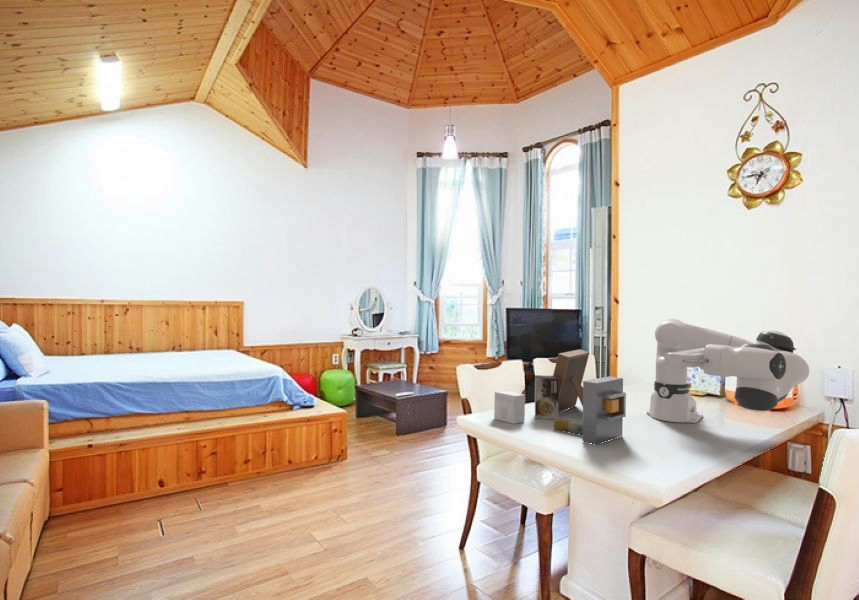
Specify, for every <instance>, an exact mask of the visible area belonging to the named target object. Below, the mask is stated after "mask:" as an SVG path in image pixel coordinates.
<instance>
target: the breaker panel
mask: <svg viewBox="0 0 859 600" xmlns="http://www.w3.org/2000/svg"><path fill="white" fill-rule="evenodd" d="M582 383H583V384H582V387H583V406H582V423H583V436H582V442H583V441H584V442H583V443H585V442H588V443H587V444H589V443H592V444H595V445H594V446H598V445H597V444H599V445H601V444H600V443H602V442H605V441H608V440H611V439H614V438H617V437H620V436H622V437H623V421H624V420H623V418H626V415H627V414H626V413H627V412H626V411H627V408H626V407H627V393H626V391H625V392H624V378H623V377H619V376H618V377H617V376H610V375H609V376H605V377H604V376H603V377H598V378H593V379H587V380H582ZM605 398H608V399H614V398H616V399H619V411H617V412H614V413H610V412H606V411H605ZM620 438H621V437H620ZM617 439H618V438H617ZM614 440H615V439H614ZM611 441H612V440H611ZM608 442H609V441H608ZM605 443H606V442H605ZM592 444H591V445H592ZM602 444H603V443H602Z"/></svg>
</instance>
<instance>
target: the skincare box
mask: <svg viewBox="0 0 859 600" xmlns="http://www.w3.org/2000/svg"><path fill="white" fill-rule="evenodd" d="M525 405H526V394H523V393H518V392H513V391H509V390H508V391H507V390H502V391H501V390H500V391H494V410H493V411H494V413H493V415H494V416H493V419H494V418H495V419H494V420H497V421H498V420H499V421H502V422H505V423H509V424H513V425H515V424H520V423H524V422H526V421H525V416H526V415H525V414H526V413H525V411H526V409H525V408H526V407H525Z"/></svg>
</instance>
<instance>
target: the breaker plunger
mask: <svg viewBox="0 0 859 600" xmlns="http://www.w3.org/2000/svg"><path fill="white" fill-rule="evenodd" d="M605 411H606V412H610V413H614V412H617V411H619V399H616V398H614V399H608V398H605Z"/></svg>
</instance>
